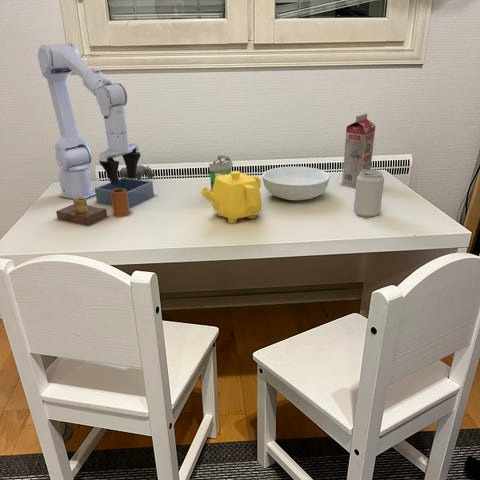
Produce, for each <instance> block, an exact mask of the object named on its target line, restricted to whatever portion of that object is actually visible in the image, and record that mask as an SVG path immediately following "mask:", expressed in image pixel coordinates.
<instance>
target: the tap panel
mask: <svg viewBox="0 0 480 480" xmlns="http://www.w3.org/2000/svg"><path fill="white" fill-rule="evenodd" d="M87 207H88V211H87V212H84V213H76V212H75V208H74V203H73V204H71V205H68V206H65V207H63V208H61V209H58V210H56V211H55V213H56V217H57V220H60V221H65V222H69V223H74V224H78V225H83V226H91V225H93V224H95V223H97V222H99V221H102V220H104V219H106V218H108V211H107V208H105V207H99V206H92V205H89V204H87Z"/></svg>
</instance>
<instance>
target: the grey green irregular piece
mask: <svg viewBox="0 0 480 480" xmlns="http://www.w3.org/2000/svg"><path fill="white" fill-rule="evenodd" d="M232 167H234V164H233V160H232V157H230V156H226V155H219V154H218V155H217V159H215V160H213V162H212V163H208V171H209V177H210V191H211V192H212V189H213V185H214V181H215V178H216V175H215V174H222V175H227V174H230V172H232Z"/></svg>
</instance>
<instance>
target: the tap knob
mask: <svg viewBox="0 0 480 480" xmlns="http://www.w3.org/2000/svg"><path fill="white" fill-rule="evenodd" d="M72 202H73V204H74V208H75V212H76V213H84V212H87V211H88V207H87V205H88V203H87V198H84V197H79V198H75V199H72Z"/></svg>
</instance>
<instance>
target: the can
mask: <svg viewBox="0 0 480 480" xmlns="http://www.w3.org/2000/svg"><path fill="white" fill-rule="evenodd" d="M384 185H385V177H384V176H383V172H382V171H380V170H377V169H371V170H362V171H360V175H358V176H357V180H356V187H355V190H354V201H353V212H354V213H355V214H356V215H357V216H359V217H362V218H373V217H376V216H377V215H379V214H380V213H381V208H382V199H383V192H384Z"/></svg>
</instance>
